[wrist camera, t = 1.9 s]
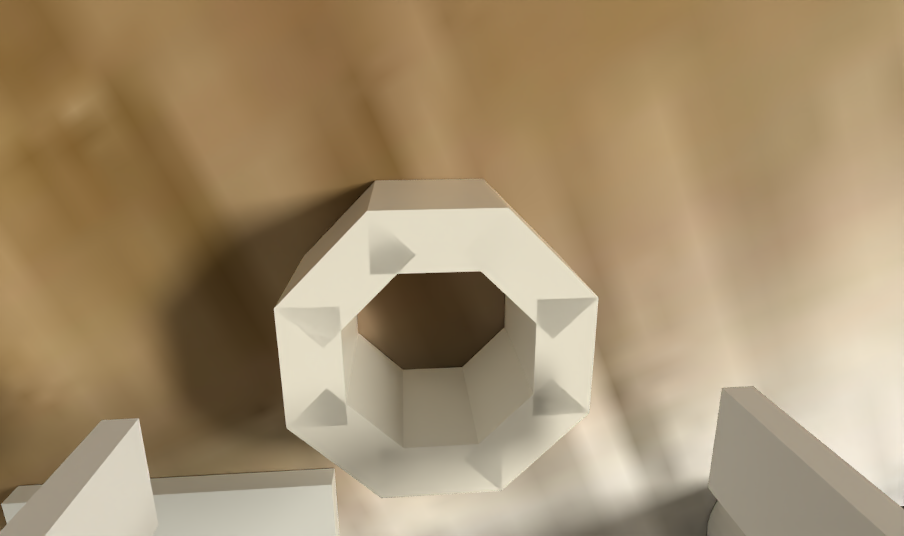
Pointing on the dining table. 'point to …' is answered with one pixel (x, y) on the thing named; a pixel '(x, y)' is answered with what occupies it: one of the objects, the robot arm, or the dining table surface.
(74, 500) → the robot arm
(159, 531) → the white square plate
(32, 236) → the dining table surface
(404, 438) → the collar
